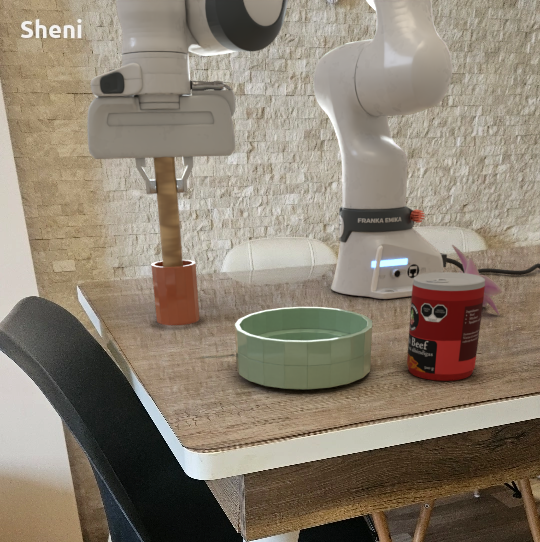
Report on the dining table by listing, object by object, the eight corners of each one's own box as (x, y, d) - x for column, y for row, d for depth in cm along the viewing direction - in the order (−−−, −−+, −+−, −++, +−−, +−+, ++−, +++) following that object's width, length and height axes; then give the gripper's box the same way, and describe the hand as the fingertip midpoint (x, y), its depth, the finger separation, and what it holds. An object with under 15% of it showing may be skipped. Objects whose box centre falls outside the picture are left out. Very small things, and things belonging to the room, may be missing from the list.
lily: (493, 333, 98) (528, 272, 96) (422, 298, 99) (454, 237, 97) (484, 337, 110) (514, 282, 108) (420, 305, 111) (449, 251, 109)
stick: (184, 290, 103) (173, 146, 94) (185, 294, 101) (174, 147, 92) (165, 291, 103) (152, 147, 94) (165, 295, 100) (152, 147, 91)
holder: (198, 316, 108) (193, 258, 103) (201, 326, 102) (196, 266, 97) (156, 319, 107) (151, 260, 102) (157, 329, 101) (151, 268, 97)
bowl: (349, 348, 90) (350, 303, 87) (388, 388, 76) (391, 336, 73) (230, 356, 87) (228, 311, 85) (247, 399, 73) (244, 346, 71)
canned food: (399, 363, 83) (405, 273, 78) (461, 360, 84) (471, 270, 79) (416, 383, 77) (424, 286, 71) (483, 380, 77) (496, 283, 72)
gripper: (231, 82, 93) (235, 189, 100) (82, 83, 90) (96, 193, 97) (237, 78, 88) (241, 192, 94) (78, 80, 85) (93, 197, 91)
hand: (166, 193), depth 95 cm, fingers closed on stick, 3 cm apart
